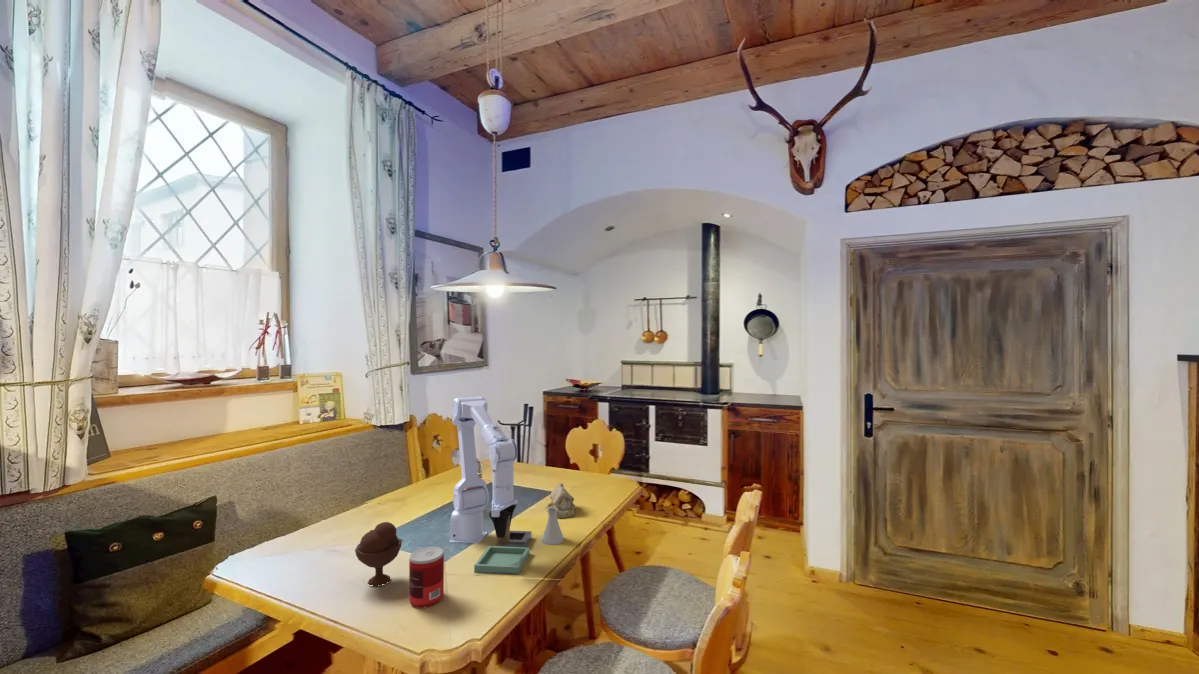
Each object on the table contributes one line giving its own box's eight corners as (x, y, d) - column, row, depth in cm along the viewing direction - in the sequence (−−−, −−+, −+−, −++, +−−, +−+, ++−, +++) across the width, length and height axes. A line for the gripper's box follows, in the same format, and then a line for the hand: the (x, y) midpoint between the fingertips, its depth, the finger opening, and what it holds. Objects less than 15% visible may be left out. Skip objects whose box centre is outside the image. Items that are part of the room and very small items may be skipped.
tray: (474, 574, 127) (474, 565, 127) (488, 553, 139) (488, 546, 139) (518, 576, 126) (518, 567, 126) (529, 555, 138) (529, 547, 138)
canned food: (447, 590, 119) (447, 546, 119) (437, 608, 111) (437, 560, 111) (416, 591, 118) (416, 546, 118) (404, 609, 110) (404, 561, 110)
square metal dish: (498, 549, 141) (498, 541, 142) (506, 538, 149) (506, 530, 149) (525, 550, 141) (525, 542, 141) (531, 539, 149) (531, 531, 149)
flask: (560, 547, 143) (560, 514, 143) (537, 545, 144) (537, 512, 144) (567, 538, 150) (567, 506, 150) (545, 536, 151) (545, 504, 151)
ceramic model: (543, 506, 179) (543, 479, 179) (573, 503, 181) (573, 477, 182) (549, 520, 165) (549, 491, 165) (580, 517, 168) (580, 488, 168)
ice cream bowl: (388, 567, 131) (388, 512, 131) (409, 580, 123) (409, 522, 124) (348, 582, 122) (348, 524, 122) (368, 597, 115) (368, 535, 115)
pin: (495, 545, 131) (495, 515, 131) (499, 539, 134) (499, 511, 134) (507, 545, 130) (507, 516, 130) (511, 540, 134) (511, 511, 134)
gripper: (509, 493, 125) (509, 545, 125) (523, 477, 139) (523, 524, 139) (483, 492, 125) (483, 544, 125) (500, 476, 140) (500, 523, 140)
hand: (503, 533), depth 132 cm, fingers closed on pin, 3 cm apart
